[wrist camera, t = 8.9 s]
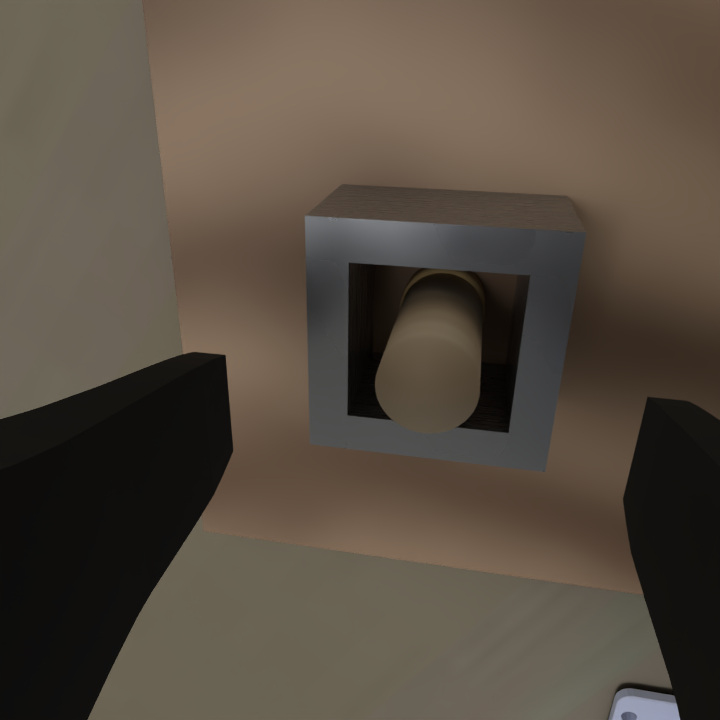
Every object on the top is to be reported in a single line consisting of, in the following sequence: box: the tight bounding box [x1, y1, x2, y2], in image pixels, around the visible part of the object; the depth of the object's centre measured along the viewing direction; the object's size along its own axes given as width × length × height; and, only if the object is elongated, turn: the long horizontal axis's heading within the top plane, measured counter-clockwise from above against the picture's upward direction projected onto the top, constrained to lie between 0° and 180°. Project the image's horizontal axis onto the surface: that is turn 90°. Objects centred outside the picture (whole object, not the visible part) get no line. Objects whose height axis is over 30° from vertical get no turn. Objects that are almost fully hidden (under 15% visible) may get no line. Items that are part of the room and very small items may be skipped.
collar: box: [305, 184, 586, 472], centre depth 15 cm, size 5×5×4 cm
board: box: [142, 0, 720, 595], centre depth 15 cm, size 18×15×6 cm
